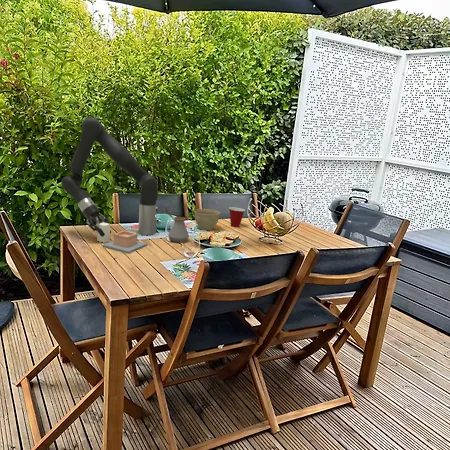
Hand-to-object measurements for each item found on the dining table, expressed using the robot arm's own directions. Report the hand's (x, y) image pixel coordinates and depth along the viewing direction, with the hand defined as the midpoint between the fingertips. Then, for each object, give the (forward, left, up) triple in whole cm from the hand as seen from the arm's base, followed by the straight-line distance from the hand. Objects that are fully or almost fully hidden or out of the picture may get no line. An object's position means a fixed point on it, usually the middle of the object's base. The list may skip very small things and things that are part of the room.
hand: (106, 234), depth 212 cm
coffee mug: (-42, -23, -4) cm, 48 cm away
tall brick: (+1, -2, -4) cm, 5 cm away
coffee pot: (-36, +9, -4) cm, 38 cm away
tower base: (-5, +10, -4) cm, 12 cm away
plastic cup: (-88, +6, -4) cm, 88 cm away
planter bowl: (-66, +2, -4) cm, 66 cm away
